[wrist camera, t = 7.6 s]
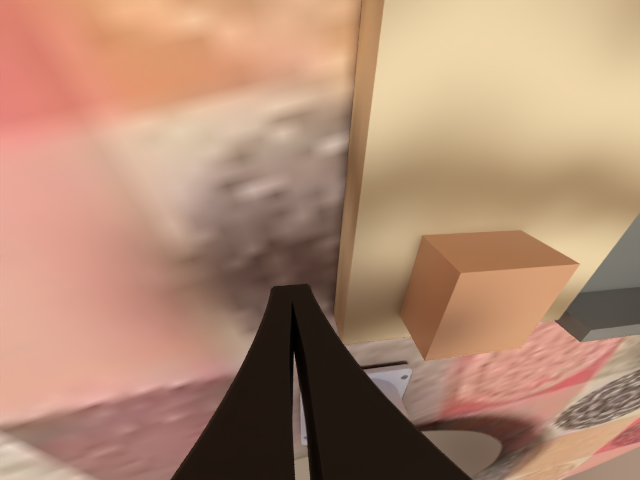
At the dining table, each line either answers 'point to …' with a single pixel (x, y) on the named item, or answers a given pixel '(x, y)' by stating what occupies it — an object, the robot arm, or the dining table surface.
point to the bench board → (486, 139)
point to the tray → (609, 294)
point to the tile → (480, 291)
